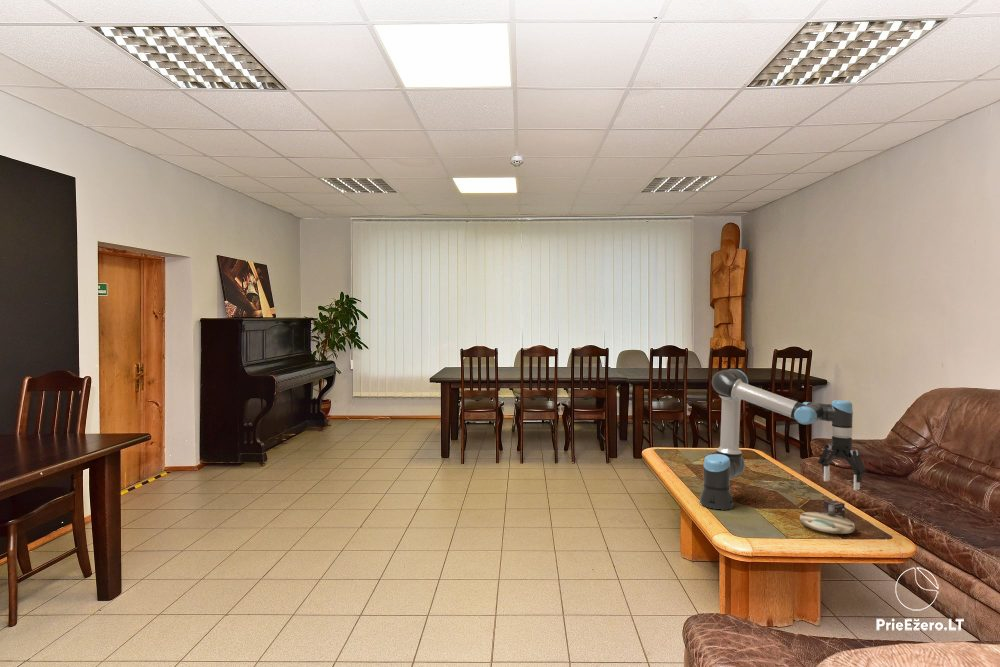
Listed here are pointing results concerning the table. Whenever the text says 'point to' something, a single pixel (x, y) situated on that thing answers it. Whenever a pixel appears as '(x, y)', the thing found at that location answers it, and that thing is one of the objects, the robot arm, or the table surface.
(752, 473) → the table surface
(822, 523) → the turntable
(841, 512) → the box
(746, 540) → the table surface
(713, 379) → the robot arm
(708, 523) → the table surface
